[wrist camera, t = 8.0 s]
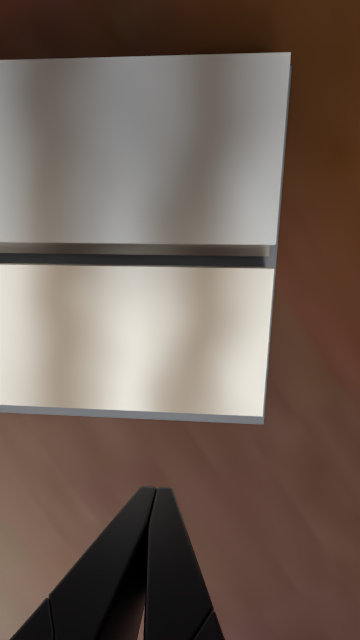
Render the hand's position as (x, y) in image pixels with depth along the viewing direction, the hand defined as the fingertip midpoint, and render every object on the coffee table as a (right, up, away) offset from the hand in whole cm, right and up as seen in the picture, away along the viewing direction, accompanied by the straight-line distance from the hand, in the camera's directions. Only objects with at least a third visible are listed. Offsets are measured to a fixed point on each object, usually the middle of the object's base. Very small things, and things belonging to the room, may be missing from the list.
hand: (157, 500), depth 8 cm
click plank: (-4, +4, +8) cm, 10 cm away
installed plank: (-4, +12, +7) cm, 15 cm away
